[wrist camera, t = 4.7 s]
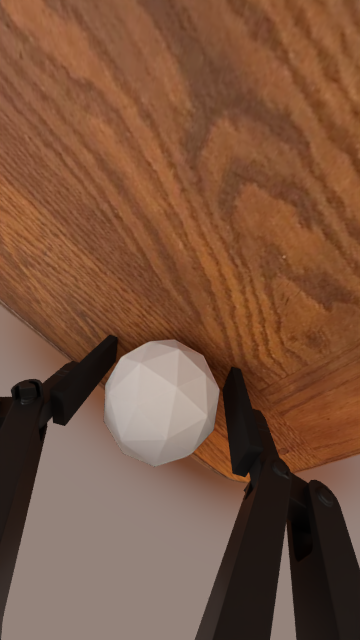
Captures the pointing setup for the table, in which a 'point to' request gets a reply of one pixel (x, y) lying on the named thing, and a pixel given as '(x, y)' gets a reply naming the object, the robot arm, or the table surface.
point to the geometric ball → (160, 402)
